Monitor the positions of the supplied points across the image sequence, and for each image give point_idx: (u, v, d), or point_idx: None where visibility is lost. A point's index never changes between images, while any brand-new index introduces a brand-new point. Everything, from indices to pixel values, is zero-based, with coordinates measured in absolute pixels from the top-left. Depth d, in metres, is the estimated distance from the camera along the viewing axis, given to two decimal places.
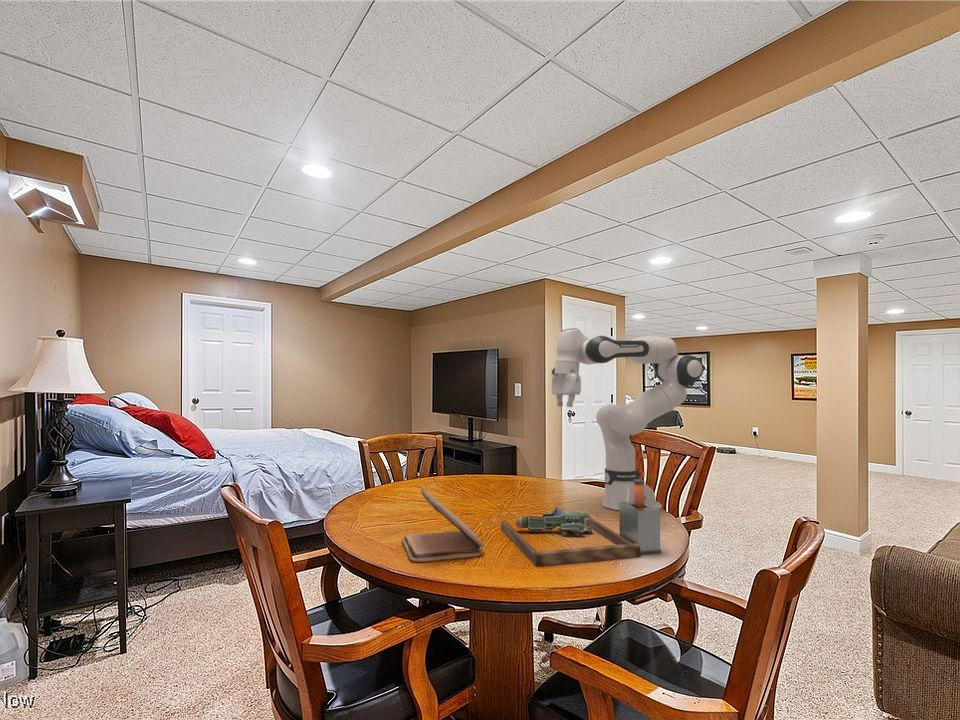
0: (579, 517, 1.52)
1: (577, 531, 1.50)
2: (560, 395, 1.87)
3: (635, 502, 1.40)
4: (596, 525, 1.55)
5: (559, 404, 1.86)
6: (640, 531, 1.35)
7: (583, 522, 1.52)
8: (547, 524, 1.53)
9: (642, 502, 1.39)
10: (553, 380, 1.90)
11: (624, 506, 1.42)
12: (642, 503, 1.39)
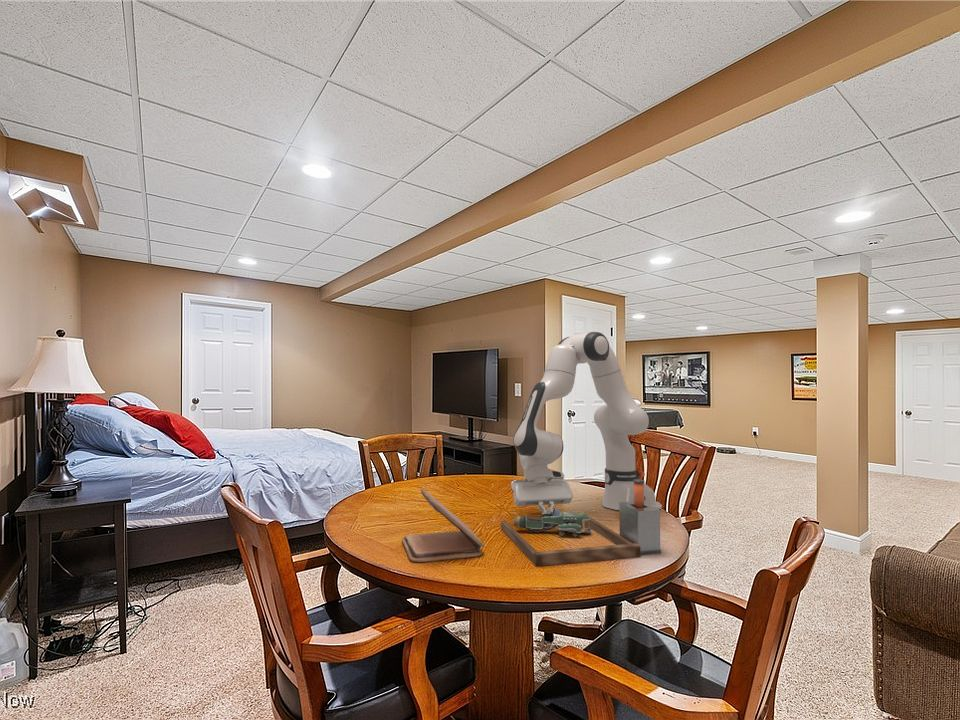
0: (577, 518, 1.51)
1: (574, 532, 1.49)
2: (548, 503, 1.61)
3: (635, 502, 1.40)
4: (596, 525, 1.55)
5: (547, 513, 1.58)
6: (640, 531, 1.35)
7: (581, 523, 1.51)
8: (545, 524, 1.53)
9: (642, 502, 1.39)
10: None
11: (624, 506, 1.42)
12: (642, 503, 1.39)
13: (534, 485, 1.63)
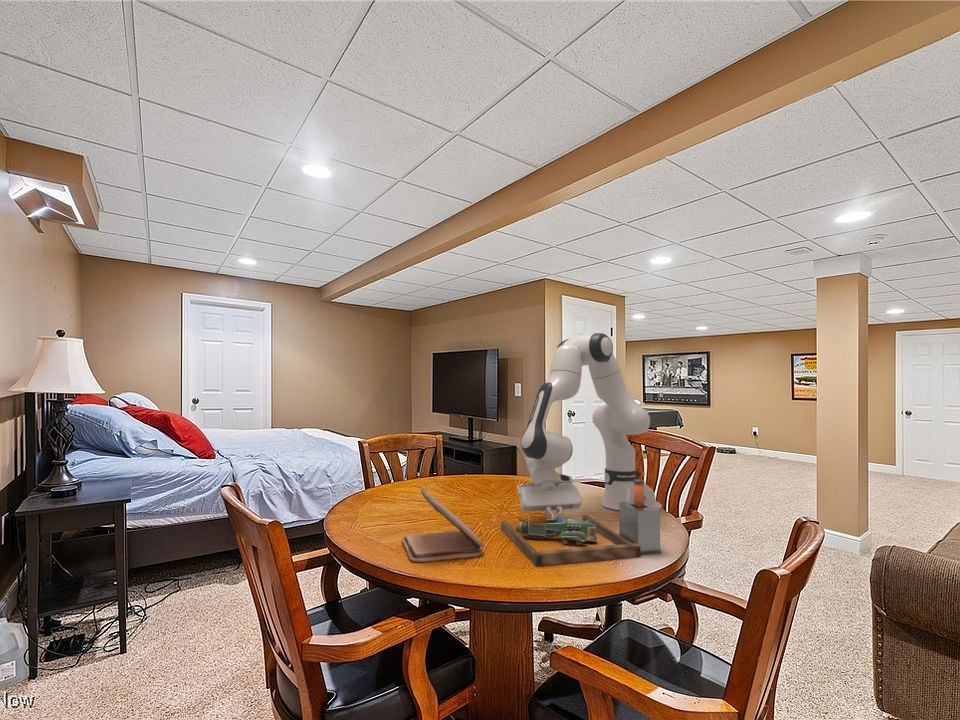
0: (582, 525, 1.44)
1: (578, 540, 1.41)
2: (556, 508, 1.54)
3: (635, 502, 1.40)
4: (596, 525, 1.55)
5: None
6: (640, 531, 1.35)
7: (586, 531, 1.43)
8: (548, 531, 1.47)
9: (642, 502, 1.39)
10: None
11: (624, 506, 1.42)
12: (642, 503, 1.39)
13: (541, 489, 1.56)
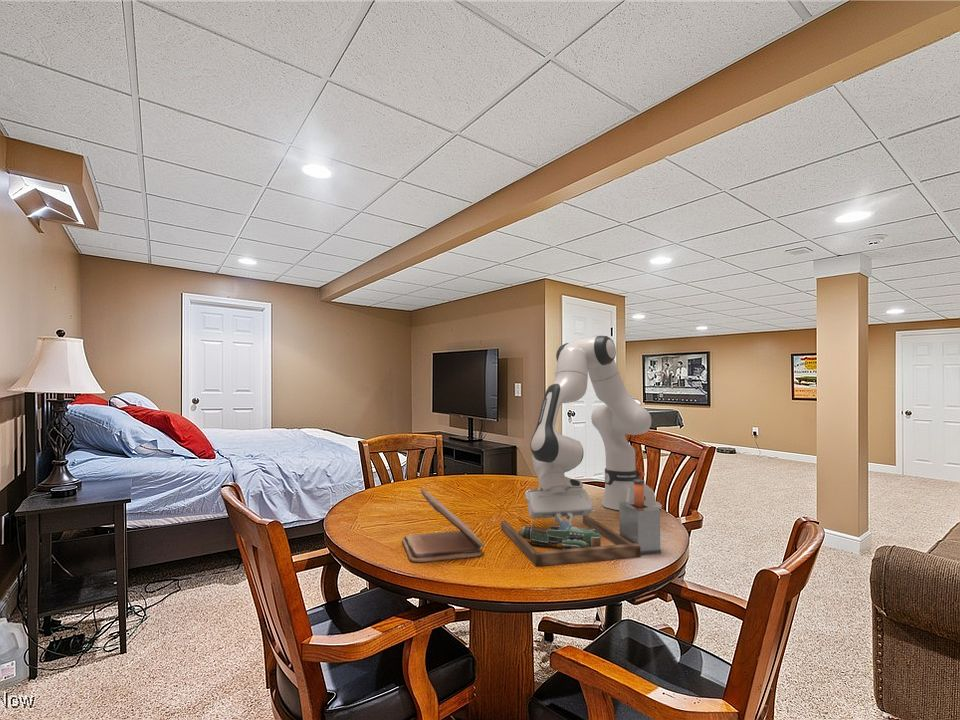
0: (585, 534, 1.35)
1: None
2: (566, 514, 1.47)
3: (635, 502, 1.40)
4: (596, 525, 1.55)
5: None
6: (640, 531, 1.35)
7: (589, 541, 1.35)
8: (551, 538, 1.40)
9: (642, 502, 1.39)
10: None
11: (624, 506, 1.42)
12: (642, 503, 1.39)
13: (550, 495, 1.49)
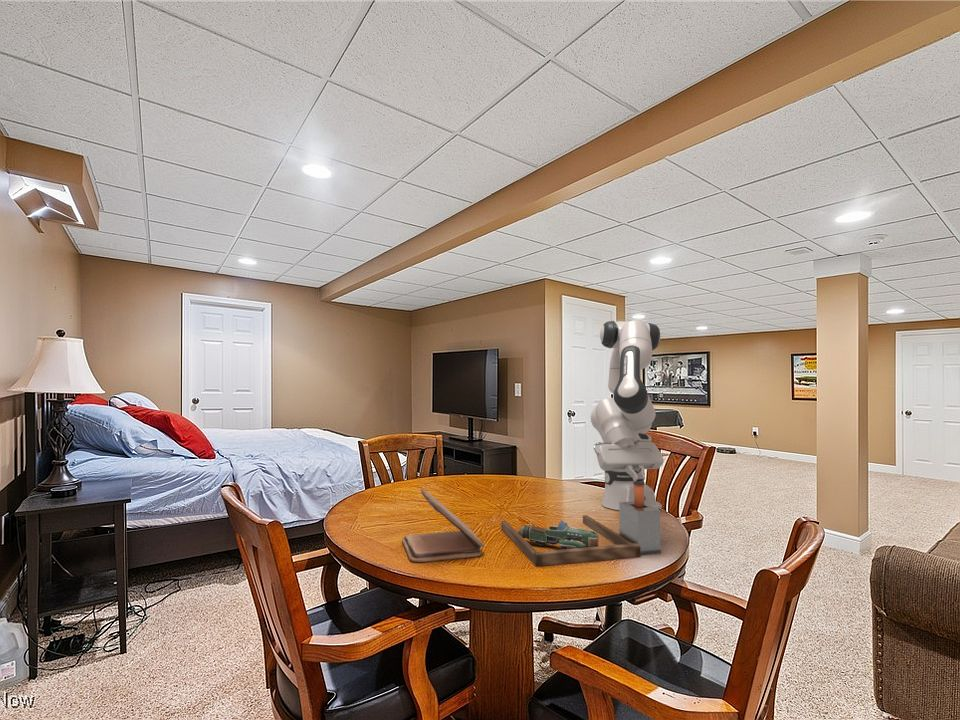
0: (582, 535, 1.35)
1: None
2: (637, 467, 1.44)
3: (635, 503, 1.40)
4: (596, 525, 1.55)
5: None
6: (640, 531, 1.35)
7: (587, 541, 1.34)
8: (550, 538, 1.40)
9: (642, 503, 1.39)
10: None
11: (624, 506, 1.42)
12: (642, 504, 1.39)
13: (620, 448, 1.46)
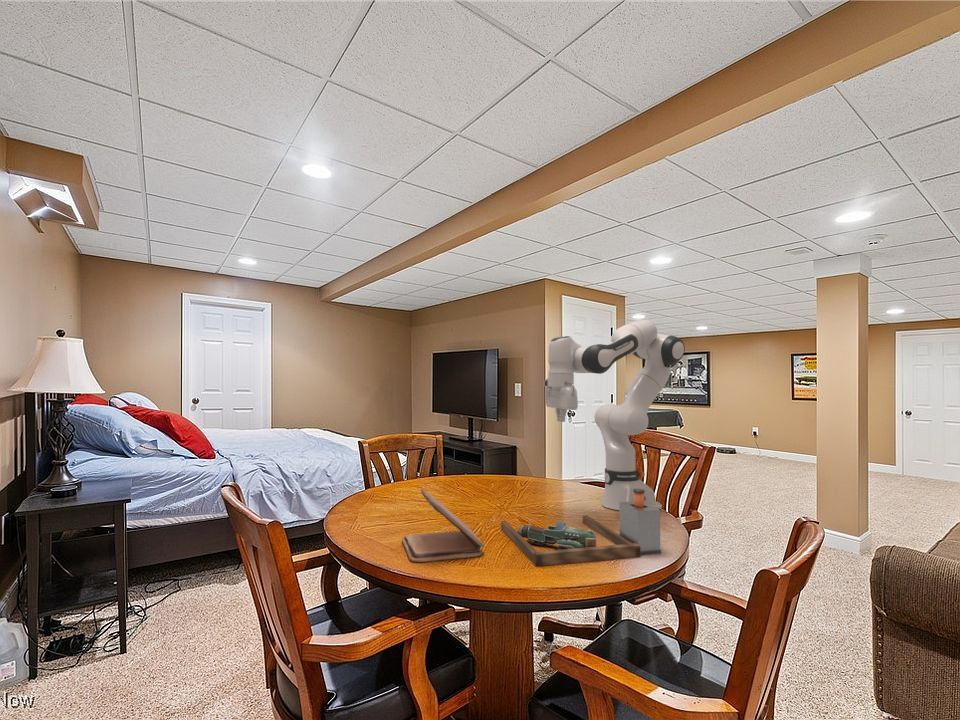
0: (580, 535, 1.34)
1: None
2: (560, 409, 1.70)
3: None
4: (596, 525, 1.55)
5: None
6: (640, 531, 1.35)
7: (584, 542, 1.34)
8: (548, 537, 1.40)
9: None
10: (546, 392, 1.77)
11: (624, 506, 1.42)
12: None
13: None
